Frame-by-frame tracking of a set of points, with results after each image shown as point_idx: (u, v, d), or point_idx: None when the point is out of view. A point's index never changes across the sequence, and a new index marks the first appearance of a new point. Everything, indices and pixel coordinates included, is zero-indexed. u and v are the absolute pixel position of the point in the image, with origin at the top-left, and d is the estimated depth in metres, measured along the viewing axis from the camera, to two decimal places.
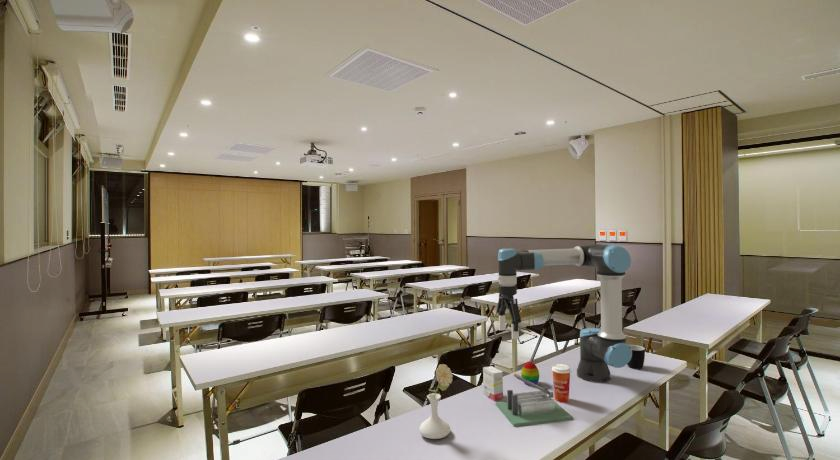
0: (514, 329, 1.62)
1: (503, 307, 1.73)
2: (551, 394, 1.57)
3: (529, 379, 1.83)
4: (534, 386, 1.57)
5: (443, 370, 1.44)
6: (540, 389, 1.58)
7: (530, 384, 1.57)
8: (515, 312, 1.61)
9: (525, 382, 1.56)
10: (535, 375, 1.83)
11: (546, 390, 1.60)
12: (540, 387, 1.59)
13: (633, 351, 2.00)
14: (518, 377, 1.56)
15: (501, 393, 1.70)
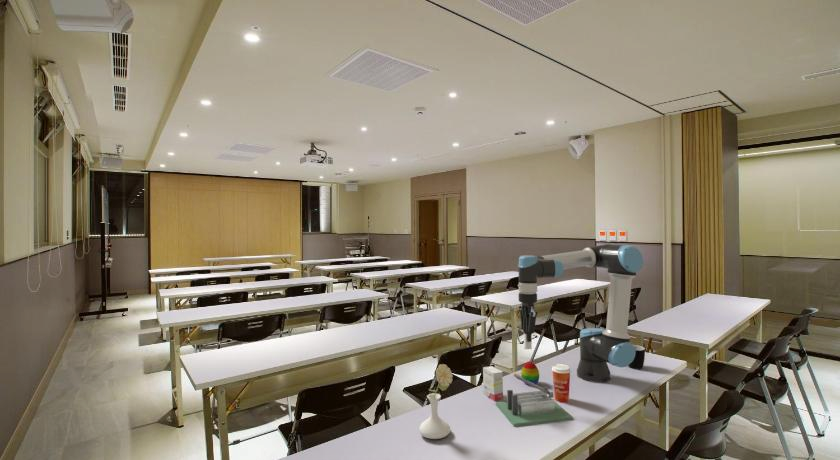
0: (527, 339, 1.65)
1: None
2: (551, 394, 1.57)
3: (529, 379, 1.83)
4: (534, 386, 1.57)
5: (443, 370, 1.44)
6: (540, 389, 1.58)
7: (530, 384, 1.57)
8: (531, 324, 1.62)
9: (525, 382, 1.56)
10: (535, 375, 1.83)
11: (546, 390, 1.60)
12: (540, 387, 1.59)
13: None
14: (518, 377, 1.56)
15: (501, 393, 1.70)
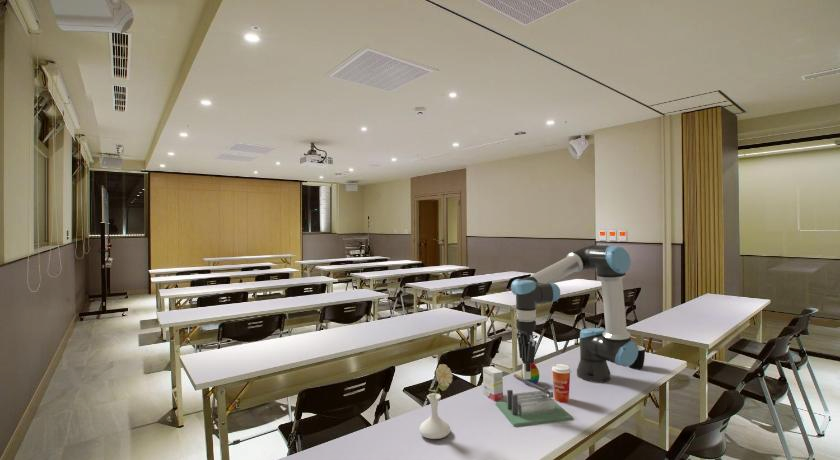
0: (526, 369, 1.57)
1: None
2: (551, 394, 1.57)
3: (529, 379, 1.83)
4: (534, 386, 1.57)
5: (443, 370, 1.44)
6: (540, 389, 1.58)
7: (530, 384, 1.57)
8: (530, 354, 1.53)
9: (525, 382, 1.56)
10: (535, 375, 1.83)
11: (546, 390, 1.60)
12: (540, 387, 1.59)
13: None
14: (518, 378, 1.56)
15: (501, 393, 1.70)
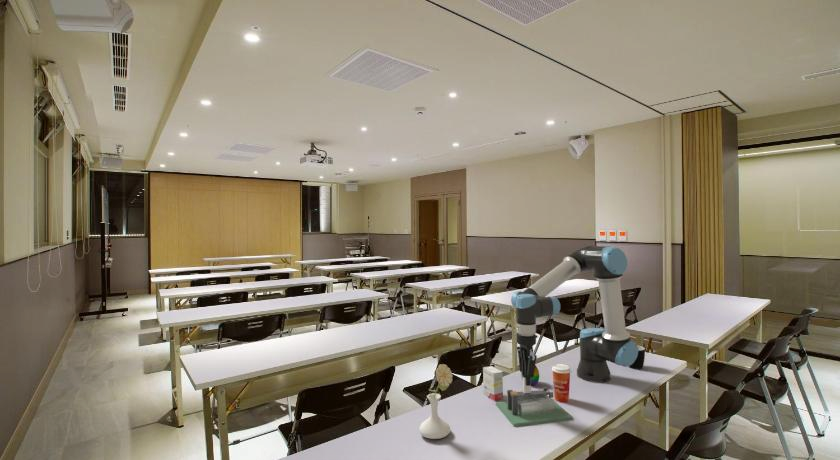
0: (526, 383, 1.57)
1: None
2: (551, 394, 1.57)
3: None
4: (532, 395, 1.57)
5: (443, 370, 1.44)
6: (539, 395, 1.58)
7: (527, 395, 1.57)
8: (530, 368, 1.53)
9: (522, 396, 1.56)
10: (535, 375, 1.83)
11: (545, 391, 1.60)
12: (538, 392, 1.59)
13: None
14: None
15: (501, 393, 1.70)
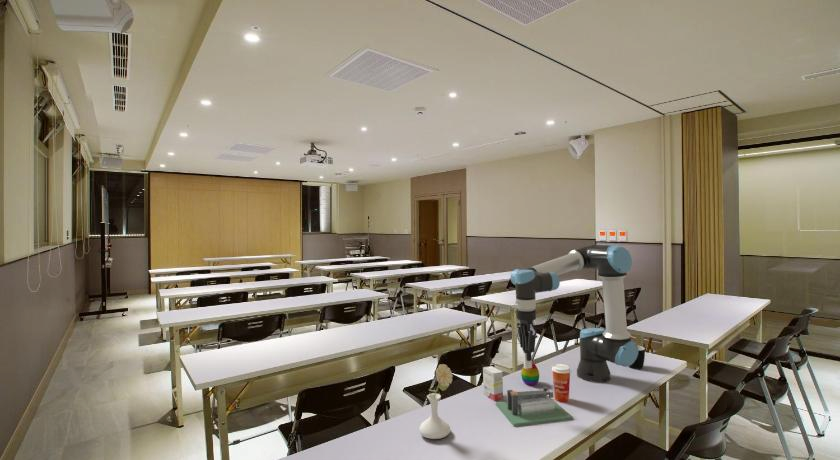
0: (527, 358, 1.57)
1: None
2: (551, 394, 1.57)
3: (529, 379, 1.83)
4: (532, 395, 1.57)
5: (443, 370, 1.44)
6: (539, 395, 1.58)
7: (527, 395, 1.57)
8: (531, 343, 1.53)
9: (522, 396, 1.56)
10: (535, 375, 1.83)
11: (545, 391, 1.60)
12: (538, 392, 1.59)
13: None
14: None
15: (501, 393, 1.70)
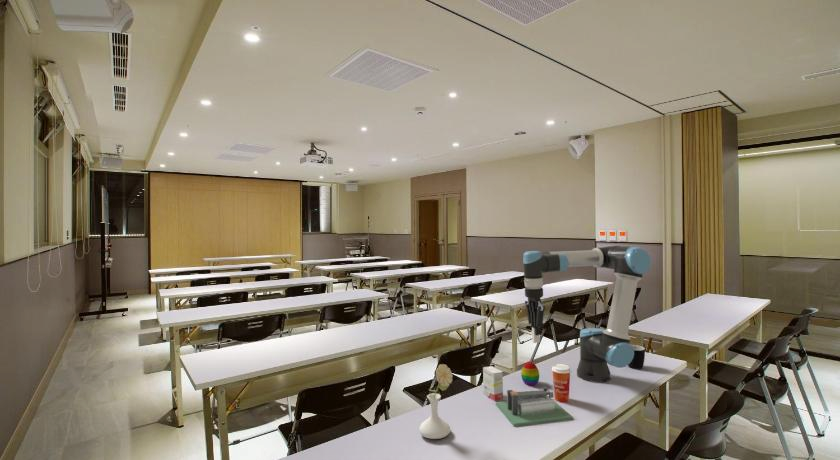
0: (535, 333, 1.69)
1: None
2: (551, 394, 1.57)
3: (529, 379, 1.83)
4: (532, 395, 1.57)
5: (443, 370, 1.44)
6: (539, 395, 1.58)
7: (527, 395, 1.57)
8: (539, 318, 1.65)
9: (522, 396, 1.56)
10: (535, 375, 1.83)
11: (545, 391, 1.60)
12: (538, 392, 1.59)
13: None
14: None
15: (501, 393, 1.70)
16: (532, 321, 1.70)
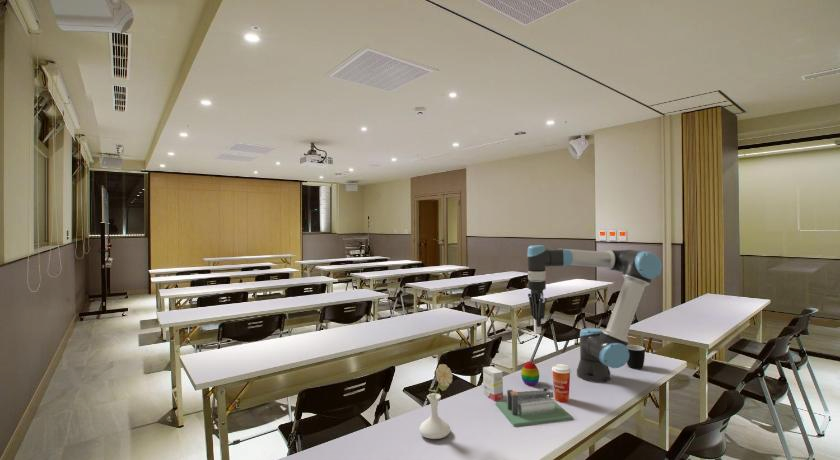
0: (537, 324, 1.74)
1: None
2: (551, 394, 1.57)
3: (529, 379, 1.83)
4: (532, 395, 1.57)
5: (443, 370, 1.44)
6: (539, 395, 1.58)
7: (527, 395, 1.57)
8: (541, 310, 1.71)
9: (522, 396, 1.56)
10: (535, 375, 1.83)
11: (545, 391, 1.60)
12: (538, 392, 1.59)
13: (633, 351, 2.00)
14: None
15: (501, 393, 1.70)
16: (534, 313, 1.76)
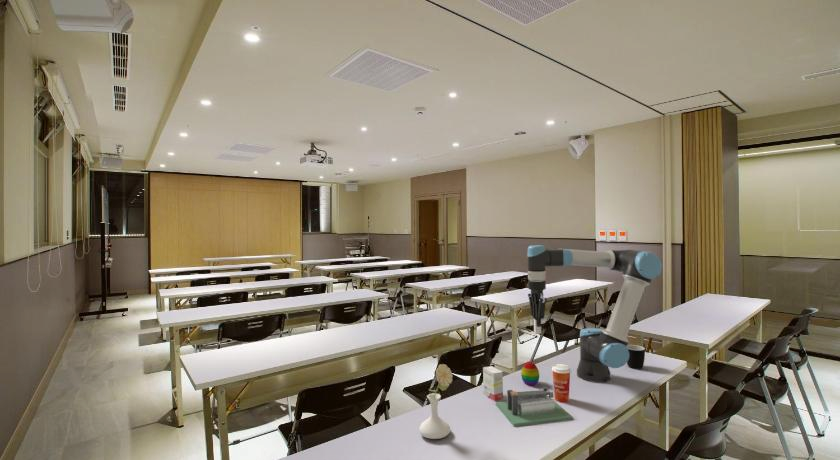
0: (537, 324, 1.74)
1: None
2: (551, 394, 1.57)
3: (529, 379, 1.83)
4: (532, 395, 1.57)
5: (443, 370, 1.44)
6: (539, 395, 1.58)
7: (527, 395, 1.57)
8: (541, 310, 1.71)
9: (522, 396, 1.56)
10: (535, 375, 1.83)
11: (545, 391, 1.60)
12: (538, 392, 1.59)
13: (633, 351, 2.00)
14: None
15: (501, 393, 1.70)
16: (534, 313, 1.76)
